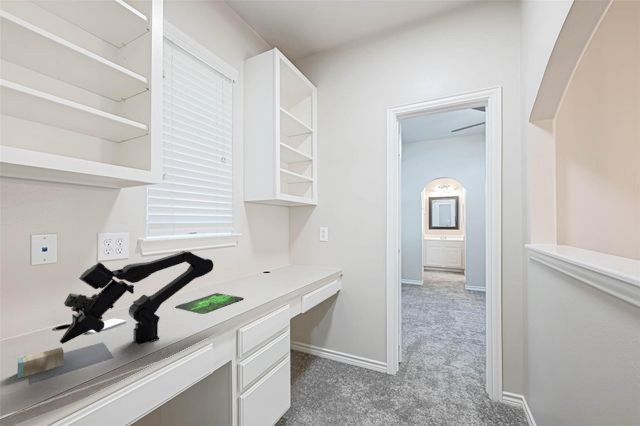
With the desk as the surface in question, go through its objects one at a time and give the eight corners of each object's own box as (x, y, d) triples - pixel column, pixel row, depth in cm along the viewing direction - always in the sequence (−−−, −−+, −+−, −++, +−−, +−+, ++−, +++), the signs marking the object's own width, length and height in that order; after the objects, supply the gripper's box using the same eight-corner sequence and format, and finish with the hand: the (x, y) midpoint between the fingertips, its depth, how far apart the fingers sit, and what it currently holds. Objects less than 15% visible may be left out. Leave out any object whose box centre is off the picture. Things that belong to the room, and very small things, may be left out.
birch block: (61, 347, 83) (17, 358, 76) (63, 351, 80) (17, 363, 73) (61, 360, 83) (17, 373, 76) (63, 365, 80) (17, 378, 73)
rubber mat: (103, 343, 95) (103, 342, 95) (114, 359, 84) (114, 357, 84) (27, 364, 81) (27, 362, 81) (29, 386, 71) (29, 384, 71)
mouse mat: (203, 315, 124) (203, 313, 124) (172, 308, 133) (172, 306, 133) (245, 299, 148) (245, 297, 148) (216, 294, 158) (216, 292, 158)
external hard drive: (126, 324, 114) (93, 336, 102) (112, 322, 116) (78, 333, 105) (126, 320, 114) (93, 332, 102) (112, 318, 116) (78, 329, 105)
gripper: (80, 278, 92) (32, 321, 83) (90, 288, 79) (35, 338, 71) (109, 297, 97) (66, 338, 89) (123, 308, 85) (75, 357, 77)
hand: (61, 342), depth 81 cm, fingers closed
